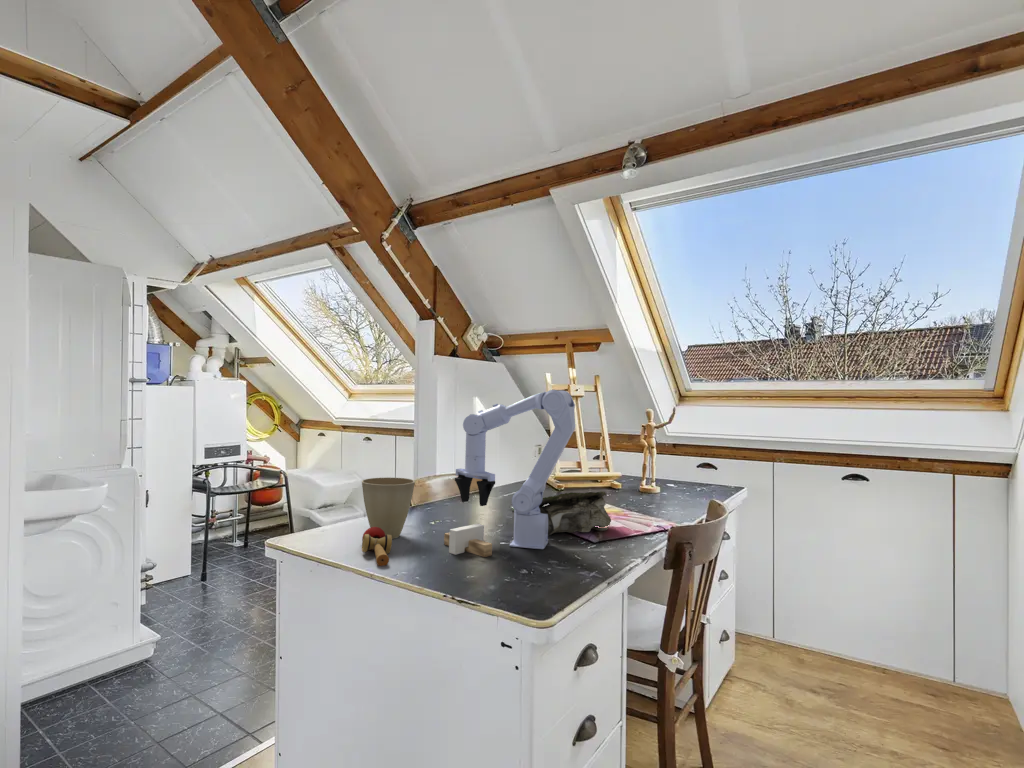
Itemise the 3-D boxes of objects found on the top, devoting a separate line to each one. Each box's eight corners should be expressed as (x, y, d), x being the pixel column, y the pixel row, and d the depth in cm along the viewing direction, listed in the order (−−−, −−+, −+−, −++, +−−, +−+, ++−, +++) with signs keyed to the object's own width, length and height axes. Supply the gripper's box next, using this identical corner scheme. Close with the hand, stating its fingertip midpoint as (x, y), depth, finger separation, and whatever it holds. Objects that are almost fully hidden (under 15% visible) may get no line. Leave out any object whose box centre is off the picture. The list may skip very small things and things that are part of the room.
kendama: (401, 569, 133) (388, 540, 150) (398, 545, 132) (385, 519, 149) (369, 578, 130) (359, 548, 147) (365, 554, 129) (356, 526, 146)
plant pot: (407, 544, 151) (409, 485, 151) (353, 542, 151) (354, 484, 151) (417, 530, 166) (419, 477, 166) (368, 529, 166) (370, 476, 166)
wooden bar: (491, 555, 142) (492, 543, 142) (484, 557, 140) (485, 545, 140) (451, 542, 153) (451, 532, 153) (444, 544, 151) (444, 533, 151)
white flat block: (483, 547, 149) (484, 525, 149) (455, 554, 142) (455, 531, 142) (477, 545, 151) (477, 523, 151) (448, 552, 144) (449, 529, 144)
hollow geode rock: (532, 552, 162) (550, 523, 153) (518, 516, 171) (534, 486, 161) (610, 540, 175) (631, 513, 166) (593, 507, 183) (612, 478, 174)
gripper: (448, 454, 161) (446, 501, 161) (482, 459, 151) (481, 509, 151) (466, 453, 166) (464, 498, 166) (500, 457, 156) (499, 505, 156)
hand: (474, 503), depth 159 cm, fingers open, 7 cm apart
